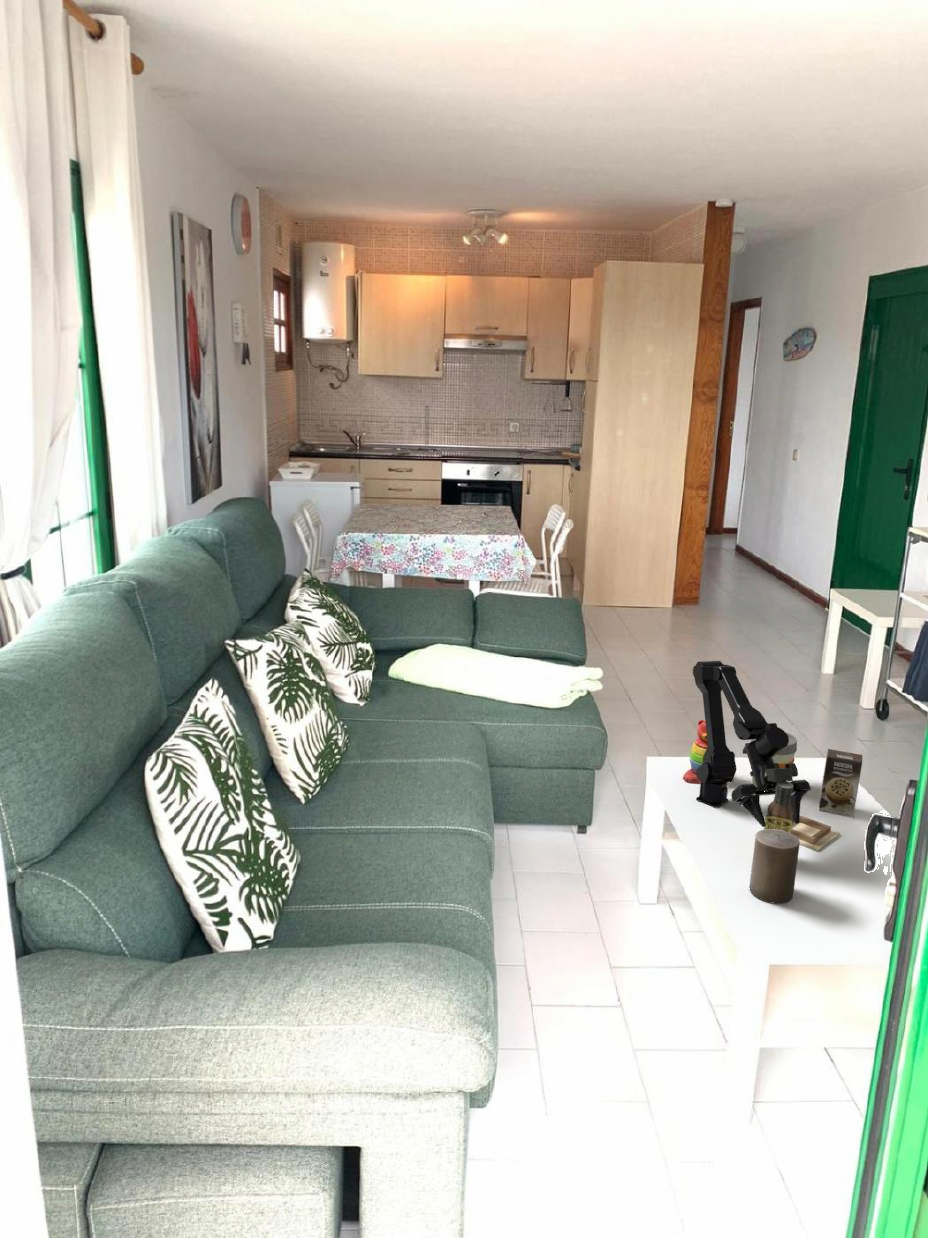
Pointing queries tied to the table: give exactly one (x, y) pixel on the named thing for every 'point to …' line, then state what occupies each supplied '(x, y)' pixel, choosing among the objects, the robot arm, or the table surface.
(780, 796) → the sauce bottle
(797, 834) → the cradle
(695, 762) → the stacking bear
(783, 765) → the reusable coffee cup
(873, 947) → the table surface
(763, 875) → the pillar candle
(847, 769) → the cookie box
